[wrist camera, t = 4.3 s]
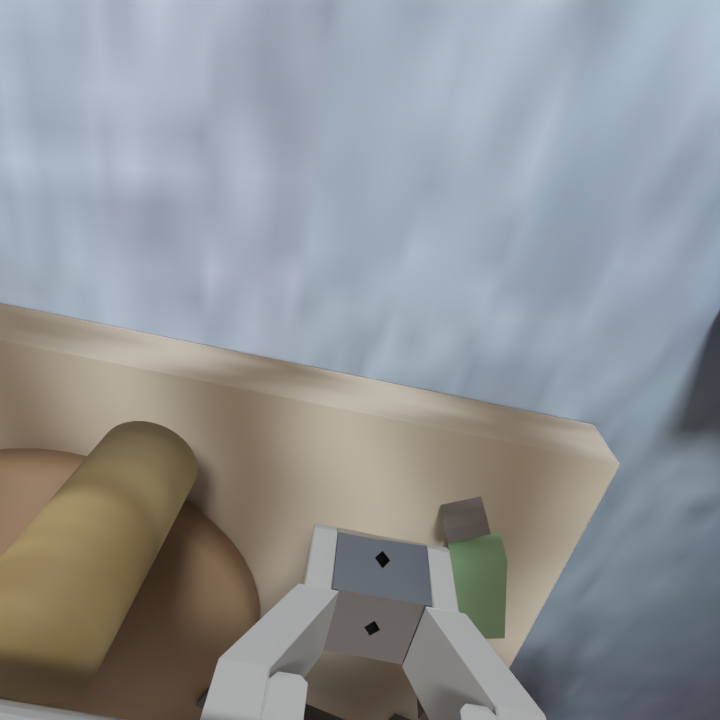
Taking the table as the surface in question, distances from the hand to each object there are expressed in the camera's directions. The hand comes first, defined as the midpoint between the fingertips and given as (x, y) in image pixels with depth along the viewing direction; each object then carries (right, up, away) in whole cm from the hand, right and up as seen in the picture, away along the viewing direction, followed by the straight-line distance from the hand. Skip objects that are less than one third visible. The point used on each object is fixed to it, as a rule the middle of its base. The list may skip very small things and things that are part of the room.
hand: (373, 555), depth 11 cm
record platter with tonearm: (-7, -4, +6) cm, 9 cm away
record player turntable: (-5, -2, +7) cm, 9 cm away
